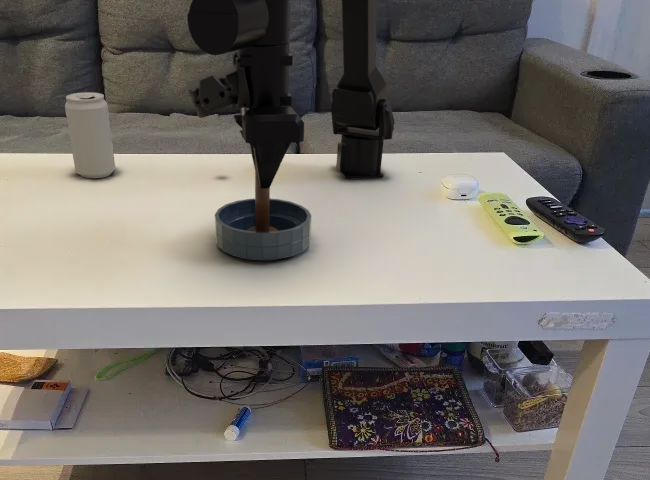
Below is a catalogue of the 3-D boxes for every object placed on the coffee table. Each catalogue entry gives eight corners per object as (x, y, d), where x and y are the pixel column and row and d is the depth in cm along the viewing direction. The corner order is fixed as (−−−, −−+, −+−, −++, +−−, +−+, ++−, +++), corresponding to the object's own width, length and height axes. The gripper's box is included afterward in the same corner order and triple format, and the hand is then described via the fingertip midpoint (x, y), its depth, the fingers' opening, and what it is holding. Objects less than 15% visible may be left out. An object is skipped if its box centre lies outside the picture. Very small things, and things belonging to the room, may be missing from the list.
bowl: (300, 224, 92) (301, 196, 89) (318, 261, 82) (319, 230, 79) (212, 229, 90) (211, 200, 88) (220, 267, 80) (219, 235, 78)
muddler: (275, 233, 87) (276, 146, 81) (280, 245, 84) (281, 155, 78) (245, 234, 87) (243, 147, 81) (248, 247, 84) (247, 157, 77)
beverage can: (87, 182, 105) (75, 102, 98) (68, 172, 109) (55, 94, 102) (123, 174, 108) (114, 96, 102) (103, 165, 112) (93, 89, 106)
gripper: (184, 30, 79) (192, 163, 88) (193, 58, 64) (202, 214, 73) (277, 30, 81) (276, 160, 89) (307, 56, 65) (302, 209, 74)
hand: (263, 183), depth 81 cm, fingers open, 3 cm apart
